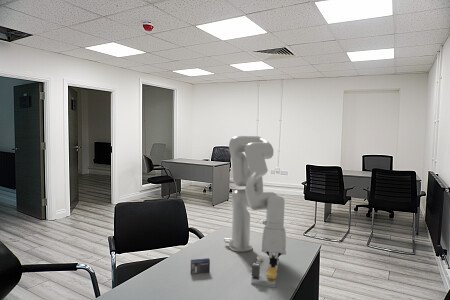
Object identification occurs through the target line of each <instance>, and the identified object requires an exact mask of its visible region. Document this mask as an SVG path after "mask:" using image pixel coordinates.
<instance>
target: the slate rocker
mask: <svg viewBox="0 0 450 300" xmlns="http://www.w3.org/2000/svg"><path fill="white" fill-rule="evenodd" d="M272 255H273V256H274V255H275V253H274V252H272ZM268 257H269V256H268ZM269 260H270V257H269ZM273 260H274V259H273ZM278 261H279V262H280V258H279V257H278V258H277V265H278ZM269 264H270V262H269ZM270 265H271V264H270ZM278 266H279V265H278Z"/></svg>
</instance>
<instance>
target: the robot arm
mask: <svg viewBox="0 0 450 300" xmlns="http://www.w3.org/2000/svg"><path fill="white" fill-rule="evenodd" d="M228 150H229V155H230V158H231V162H232V164H231V165H232V181H233V184H234V186H236V187H240V188H241V187H242V189H236V190H234V191H233V192H231V196H230V201H231V206H232V207H231V208H232V221H231V222H232V223H231V225H232V227H231V229H232V230H231V237H230V238H228V237H224V239H223V241H224V243H225V244H228V248H229V250H231V251H233V252H238V253H247V252H249V251H252V249H253V245H252V244H251V243H250V240H251V214H250V212H249V211H248V209H247V208H250V209H251V210H252V211H262V210H266V218H265V220H263V221H262V225H264V227H263V231H262V239H261V250H260V251H261V252H262V253H265V254H266V255H267V257H270V264H271V267H274V268H275V265H277V258H279V257H280V256H284V255H287V233H286V229H285V227H284V226H285V225H284V223H285V203H286V202H285V198H284V197H282V196H281V195H278V194H277V193H275V192H272V191H270V192H268V191H267V192H264V181H263V176H265V175H266V174H267V173H268V167H267V162H266V160H269V159H272V158H273V156H274V154H275V153H274V151H275V150H274V148H273V146H272V144H271V143H270V142H269V141H268V140H266V139H264V138H263V137H261V136H258V135H256V136H255V135H236V136H233V137H232V138H230V140H229V142H228ZM243 187H244V188H243ZM272 252H274V253H275V255H274V256H273V255H272ZM273 259H274V260H273Z"/></svg>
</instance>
